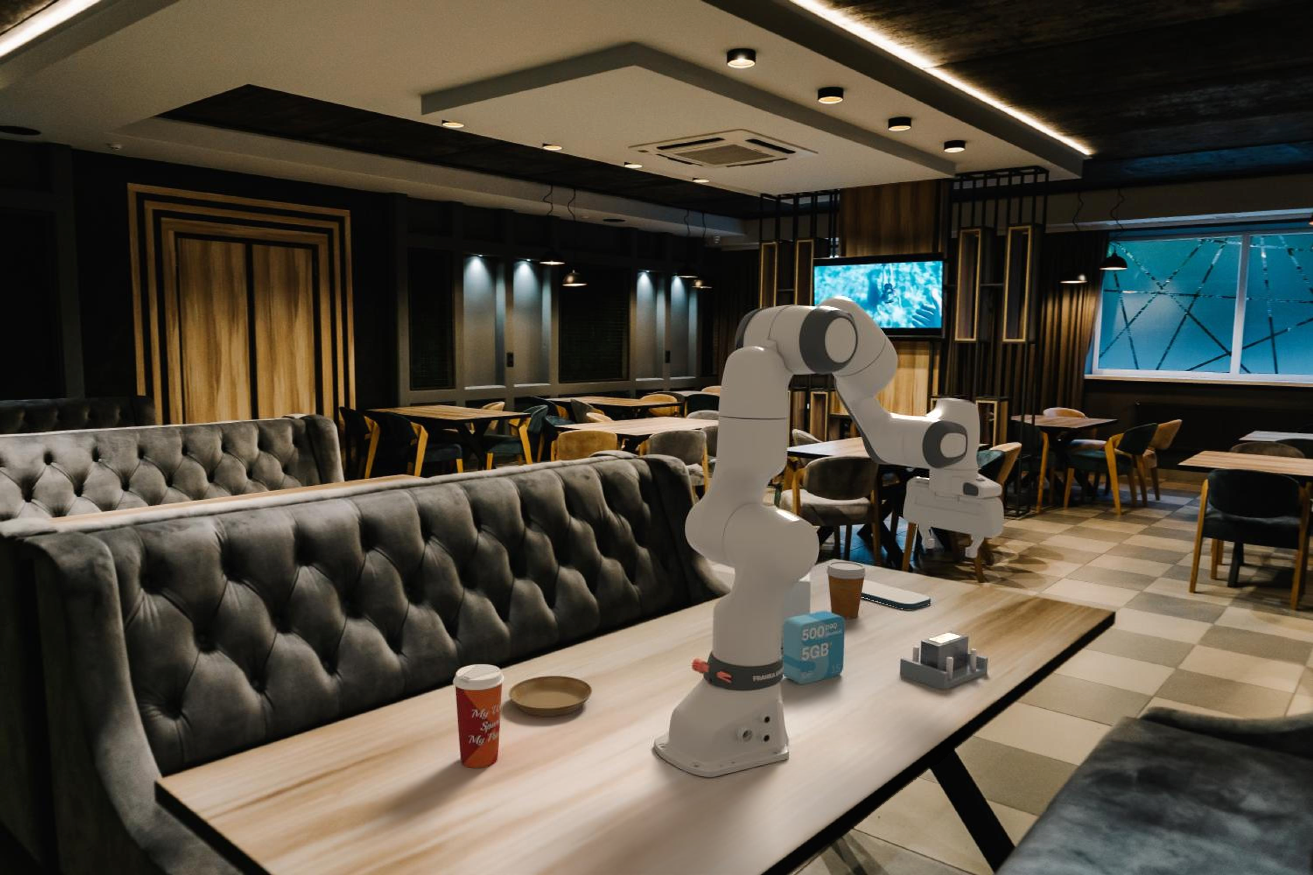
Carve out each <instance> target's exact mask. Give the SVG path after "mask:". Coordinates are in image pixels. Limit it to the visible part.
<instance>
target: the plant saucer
mask: <svg viewBox="0 0 1313 875" xmlns="http://www.w3.org/2000/svg"><path fill="white" fill-rule="evenodd" d="M592 692H593V688H592V685H590V684H589V683H588V682H586V681H584V680H583V679H580V678H576V677H573V676H566V675H565V676H564V675H545V676H544V675H543V676H537V677H536V676H535V677H532V678H527V679H524V680H522V681H520V682H517V683H516V684H514V685H513V686H512V687H511V688H509V691H508V697H509V698H510V700H511V701H512V702H513V703H514V704H515V705H516V706H517V707H518V708H519V709H520V710H522V711H524V712H525V713H527V714H530V715H534V716H539V717H557V716H558V717H559V716H564V715H568V714H570V713H573V712H574V711H577V710H578V709H579V708H581V707H582V706H583V705H585V704H584V703H586V702H587V700H589V698H590V697H591V695H592V694H593V693H592Z"/></svg>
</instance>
